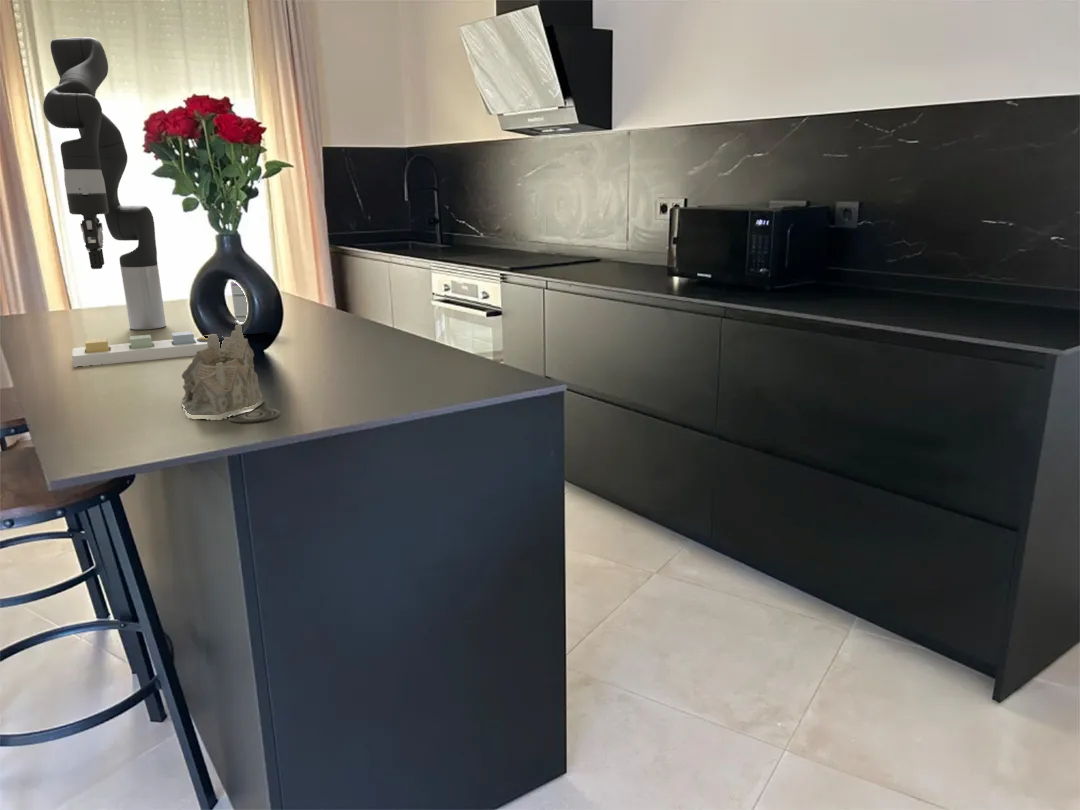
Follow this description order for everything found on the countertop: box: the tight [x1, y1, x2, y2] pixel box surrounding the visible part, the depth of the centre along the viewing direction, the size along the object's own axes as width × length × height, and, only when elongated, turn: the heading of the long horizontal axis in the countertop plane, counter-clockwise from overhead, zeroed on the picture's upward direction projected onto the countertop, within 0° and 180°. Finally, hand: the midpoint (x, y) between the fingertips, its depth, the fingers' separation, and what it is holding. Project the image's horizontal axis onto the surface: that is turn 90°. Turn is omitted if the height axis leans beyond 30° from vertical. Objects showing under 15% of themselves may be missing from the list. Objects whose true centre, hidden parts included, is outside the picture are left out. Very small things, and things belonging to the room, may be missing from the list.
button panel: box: [71, 335, 208, 368], centre depth 182 cm, size 10×32×3 cm, turn 119°
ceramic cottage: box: [180, 324, 263, 415], centre depth 138 cm, size 16×16×15 cm
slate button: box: [171, 330, 195, 345], centre depth 184 cm, size 4×4×3 cm
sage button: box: [129, 334, 153, 349], centre depth 180 cm, size 4×4×3 cm
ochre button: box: [84, 337, 109, 353], centre depth 176 cm, size 4×4×3 cm
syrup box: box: [230, 280, 247, 322], centre depth 207 cm, size 6×6×14 cm
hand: (98, 267), depth 172 cm, fingers open, 8 cm apart
